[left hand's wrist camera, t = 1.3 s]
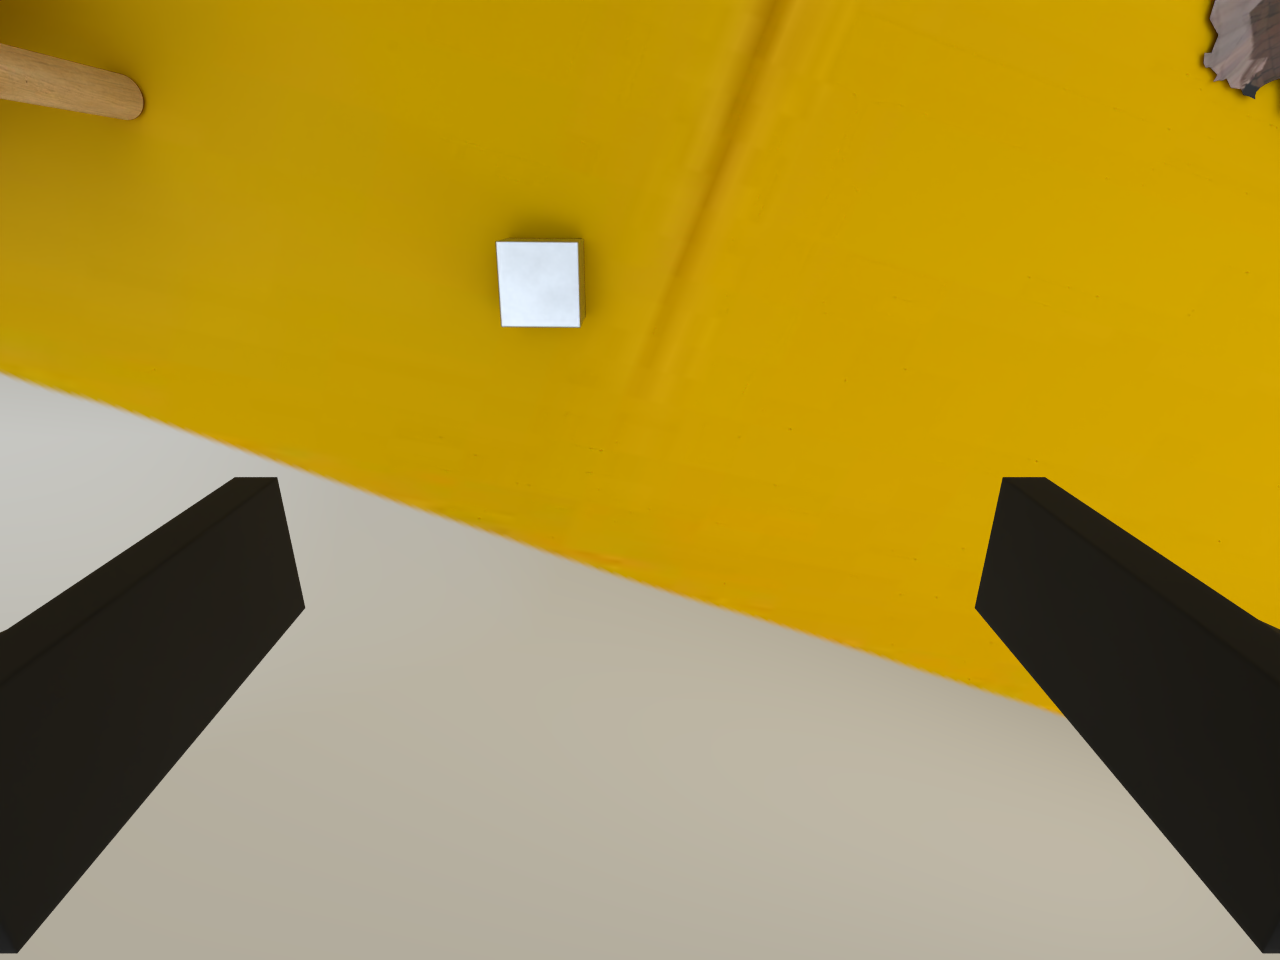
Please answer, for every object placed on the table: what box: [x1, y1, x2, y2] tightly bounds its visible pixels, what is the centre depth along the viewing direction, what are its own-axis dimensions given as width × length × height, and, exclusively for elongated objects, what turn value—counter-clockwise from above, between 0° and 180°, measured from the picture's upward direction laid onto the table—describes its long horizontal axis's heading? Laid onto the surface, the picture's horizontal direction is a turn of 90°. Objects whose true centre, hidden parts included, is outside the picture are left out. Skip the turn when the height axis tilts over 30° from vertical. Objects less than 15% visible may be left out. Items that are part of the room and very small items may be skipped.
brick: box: [496, 238, 585, 328], centre depth 44 cm, size 5×5×4 cm
